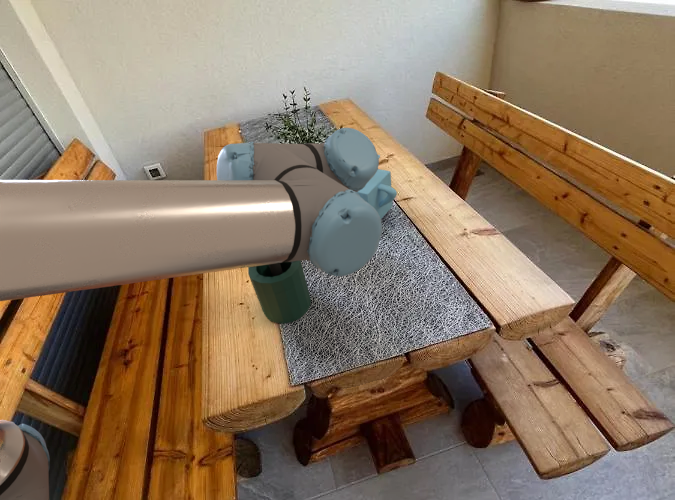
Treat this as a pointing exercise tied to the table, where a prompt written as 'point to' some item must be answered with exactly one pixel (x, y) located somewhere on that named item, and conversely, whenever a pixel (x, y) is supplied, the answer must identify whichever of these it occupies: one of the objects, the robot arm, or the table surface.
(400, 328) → the table surface
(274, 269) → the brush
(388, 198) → the teakettle
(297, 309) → the green plastic cup
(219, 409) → the table surface
